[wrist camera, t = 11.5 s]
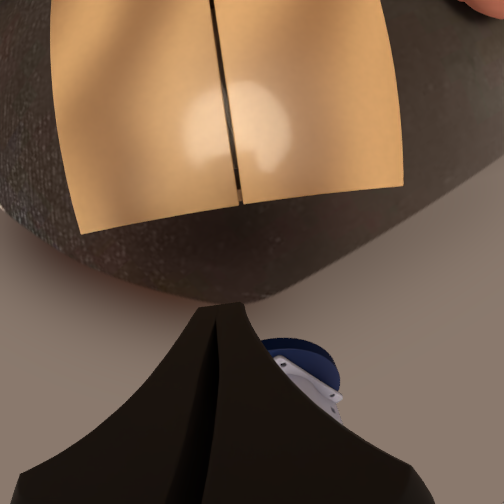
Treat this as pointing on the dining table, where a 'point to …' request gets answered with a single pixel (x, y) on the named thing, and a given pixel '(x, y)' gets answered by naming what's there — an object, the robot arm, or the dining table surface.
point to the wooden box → (141, 110)
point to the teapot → (487, 7)
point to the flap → (310, 96)
